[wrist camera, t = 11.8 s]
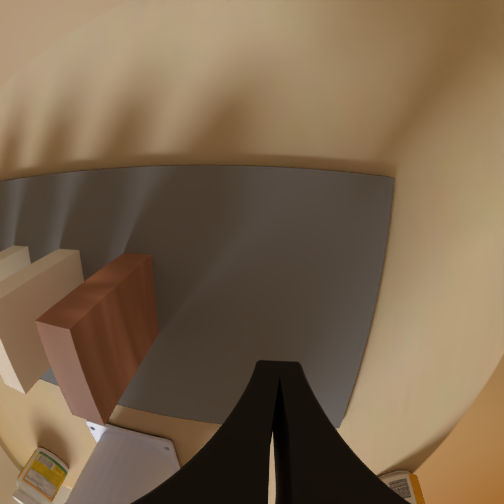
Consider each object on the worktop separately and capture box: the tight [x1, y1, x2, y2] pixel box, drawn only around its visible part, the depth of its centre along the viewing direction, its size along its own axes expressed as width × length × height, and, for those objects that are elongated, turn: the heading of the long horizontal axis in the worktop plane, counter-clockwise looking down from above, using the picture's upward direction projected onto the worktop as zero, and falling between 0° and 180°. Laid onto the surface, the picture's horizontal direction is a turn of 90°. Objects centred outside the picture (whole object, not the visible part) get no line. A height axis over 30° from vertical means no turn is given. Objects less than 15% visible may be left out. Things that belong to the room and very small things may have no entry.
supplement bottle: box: [13, 447, 68, 504], centre depth 21 cm, size 5×5×10 cm
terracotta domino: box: [35, 253, 160, 425], centre depth 12 cm, size 2×4×7 cm, turn 178°
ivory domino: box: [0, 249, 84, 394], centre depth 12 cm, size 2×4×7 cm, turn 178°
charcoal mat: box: [0, 165, 394, 428], centre depth 16 cm, size 16×34×1 cm, turn 88°
